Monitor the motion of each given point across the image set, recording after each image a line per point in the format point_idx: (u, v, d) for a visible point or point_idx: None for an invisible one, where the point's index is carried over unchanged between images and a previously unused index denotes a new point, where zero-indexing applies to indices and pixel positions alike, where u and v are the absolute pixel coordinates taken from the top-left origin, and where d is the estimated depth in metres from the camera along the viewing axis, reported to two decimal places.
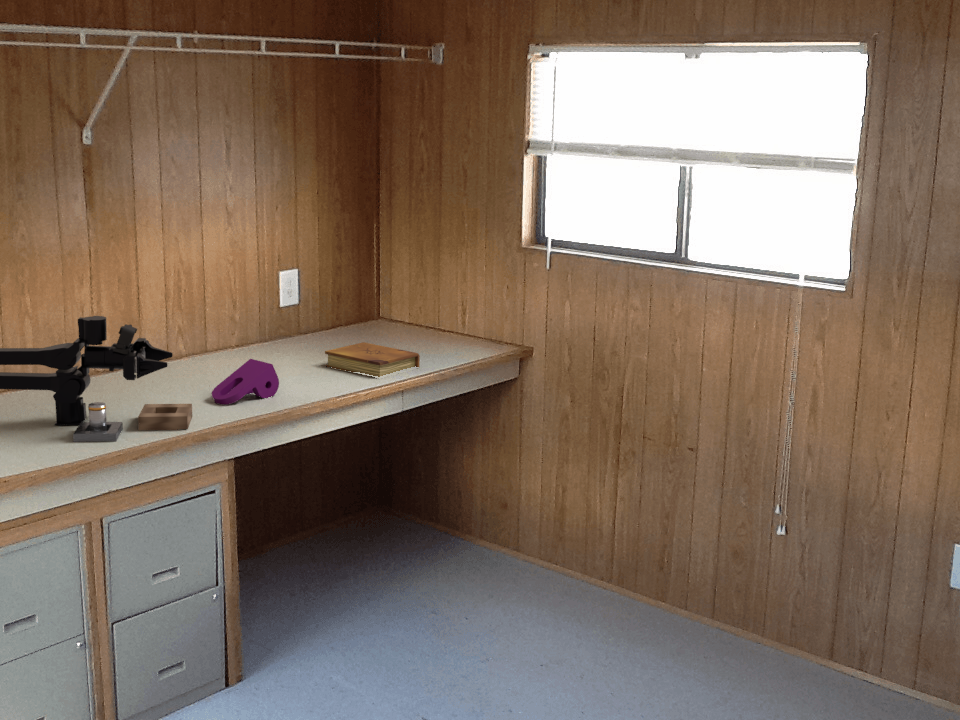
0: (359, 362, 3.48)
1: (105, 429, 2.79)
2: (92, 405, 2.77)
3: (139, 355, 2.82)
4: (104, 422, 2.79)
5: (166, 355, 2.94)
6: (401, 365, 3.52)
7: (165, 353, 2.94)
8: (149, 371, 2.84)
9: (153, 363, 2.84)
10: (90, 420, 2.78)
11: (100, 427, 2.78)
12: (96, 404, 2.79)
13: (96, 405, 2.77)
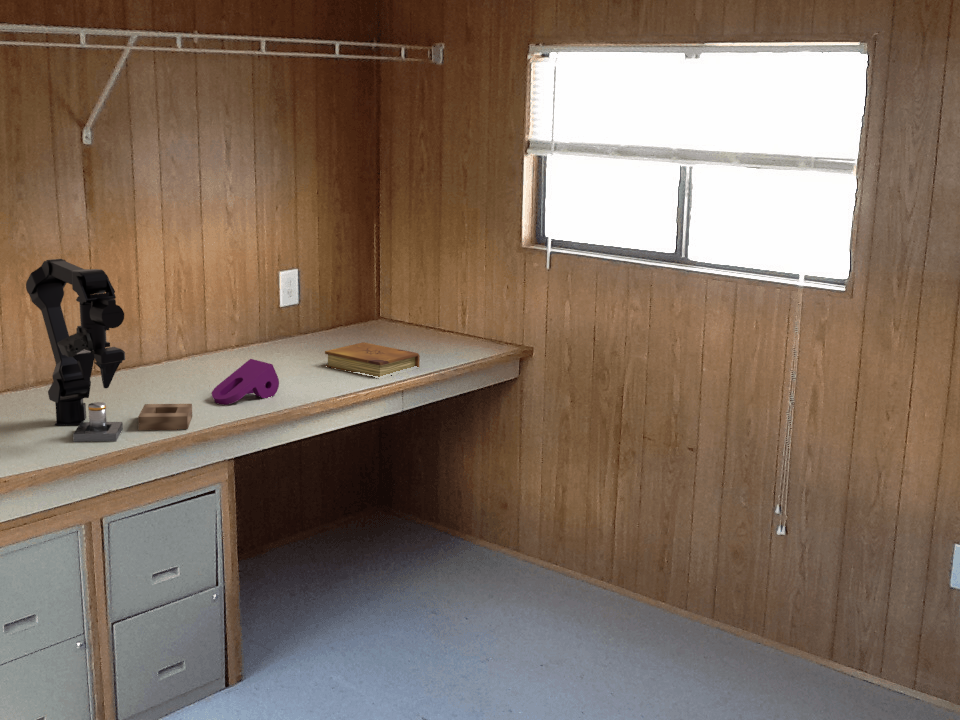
0: (359, 362, 3.48)
1: (105, 429, 2.79)
2: (92, 405, 2.77)
3: None
4: (104, 422, 2.79)
5: None
6: (401, 364, 3.52)
7: None
8: None
9: None
10: (90, 420, 2.78)
11: (100, 427, 2.78)
12: (96, 404, 2.79)
13: (96, 405, 2.77)
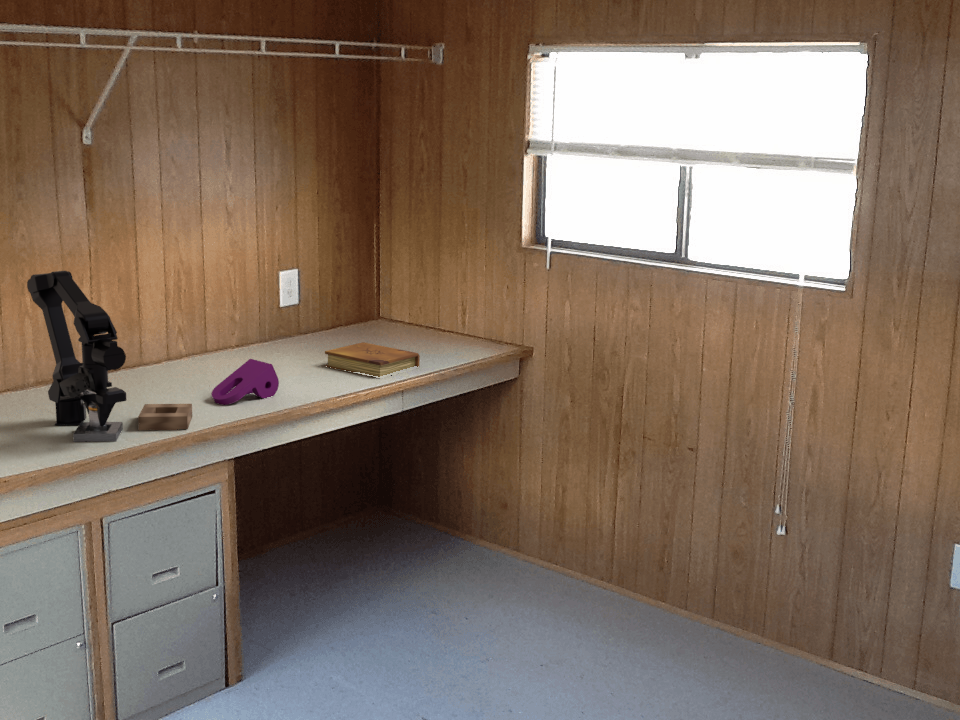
0: (359, 362, 3.48)
1: (105, 429, 2.79)
2: (92, 405, 2.77)
3: (78, 397, 2.79)
4: None
5: None
6: (401, 364, 3.52)
7: None
8: None
9: None
10: (90, 420, 2.78)
11: (100, 427, 2.78)
12: None
13: None
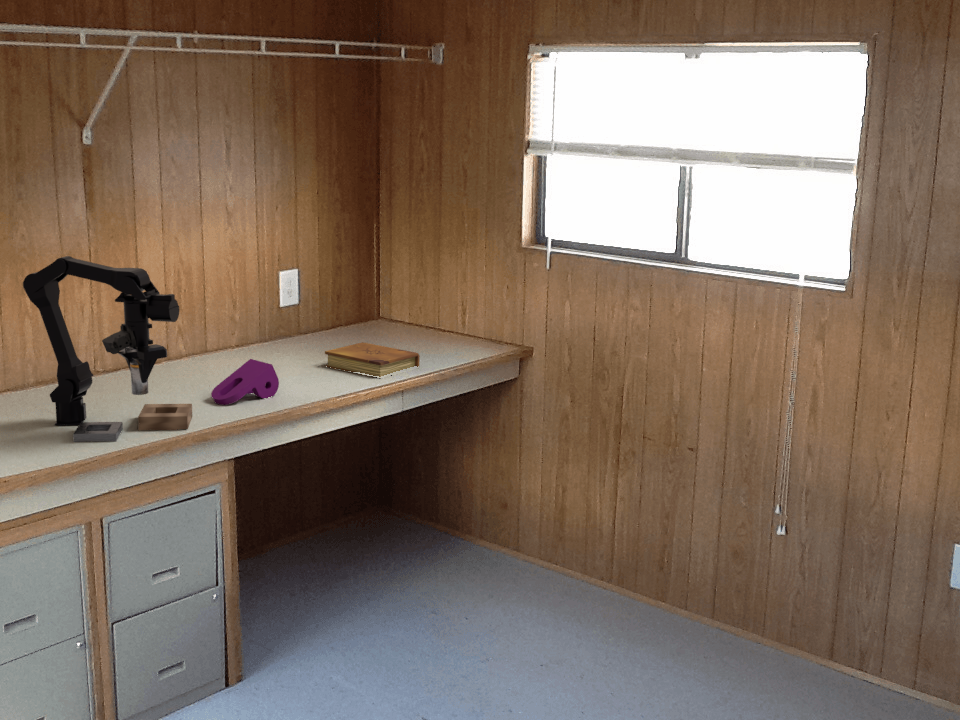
0: (359, 362, 3.48)
1: (146, 386, 2.84)
2: (134, 362, 2.82)
3: (120, 354, 2.84)
4: None
5: None
6: (401, 364, 3.52)
7: None
8: None
9: None
10: (132, 377, 2.83)
11: (141, 384, 2.83)
12: None
13: None
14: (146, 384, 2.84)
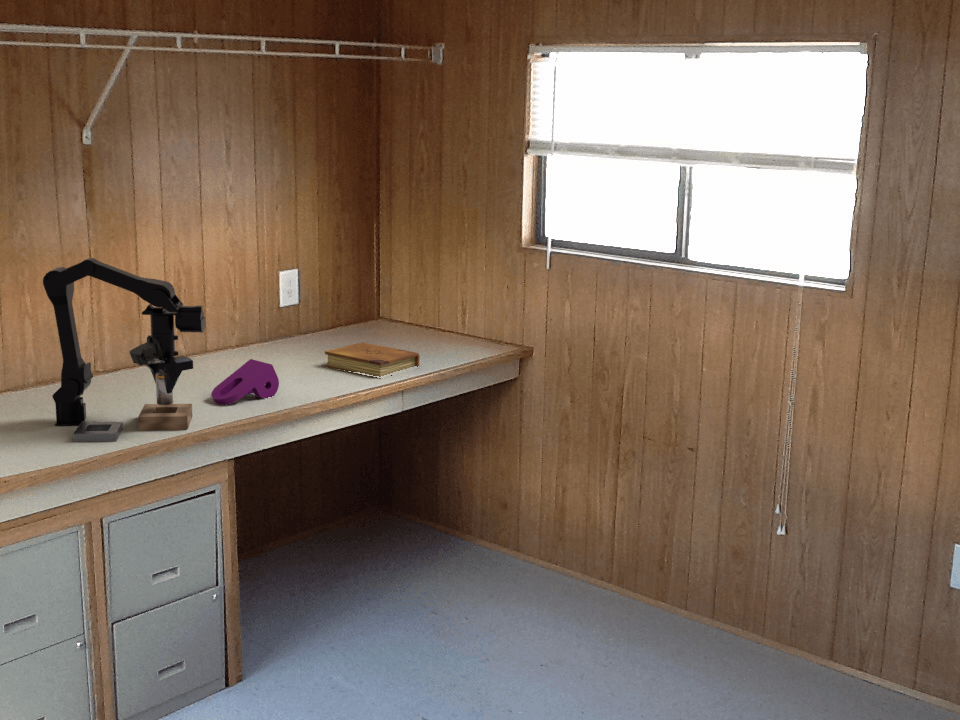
0: (359, 362, 3.48)
1: (171, 396, 2.90)
2: (159, 373, 2.88)
3: (146, 365, 2.89)
4: None
5: None
6: (401, 364, 3.52)
7: None
8: None
9: None
10: (157, 388, 2.88)
11: (166, 394, 2.89)
12: None
13: None
14: (171, 394, 2.90)
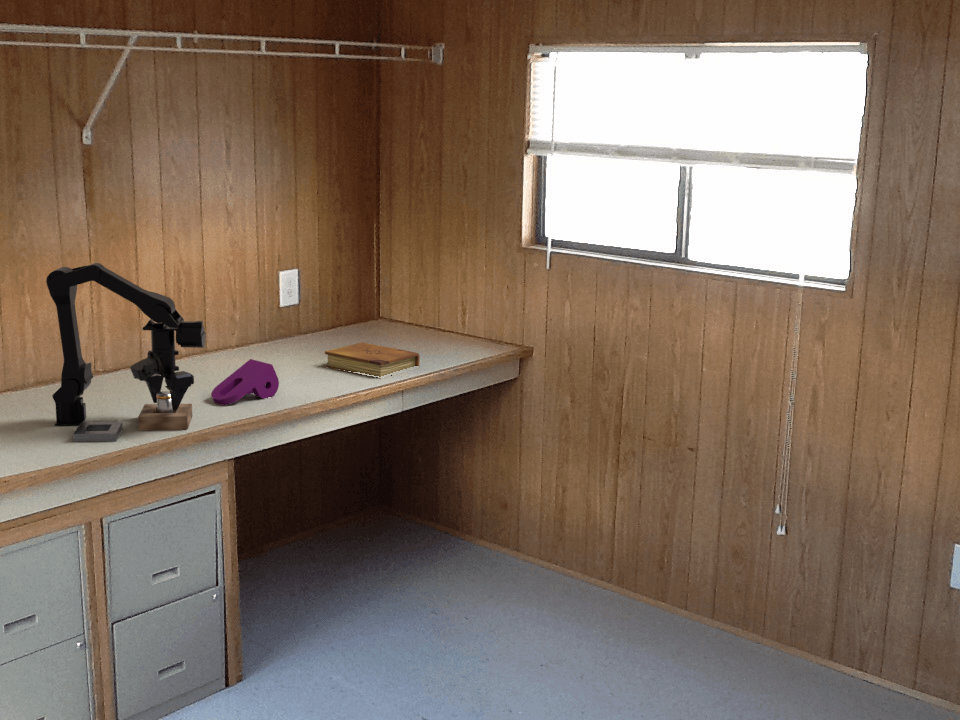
0: (360, 362, 3.48)
1: None
2: (160, 394, 2.89)
3: None
4: (171, 410, 2.91)
5: None
6: (401, 364, 3.52)
7: None
8: None
9: None
10: (158, 408, 2.90)
11: None
12: (163, 392, 2.90)
13: (164, 394, 2.89)
14: None
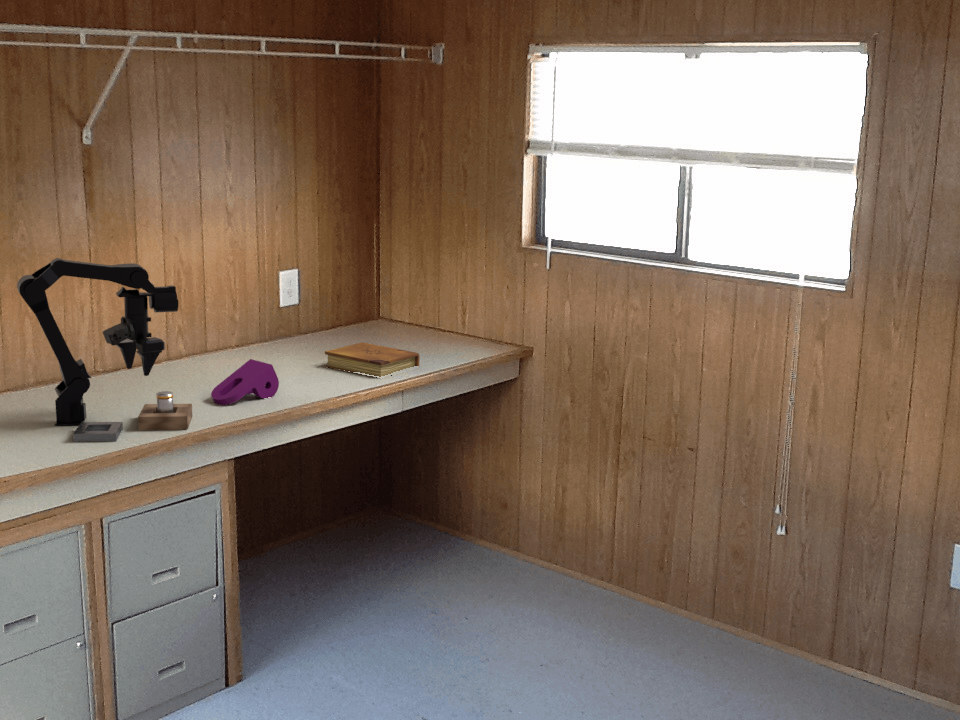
0: (360, 362, 3.48)
1: None
2: (160, 394, 2.89)
3: (115, 344, 2.97)
4: (171, 410, 2.91)
5: None
6: (401, 364, 3.52)
7: None
8: None
9: None
10: (158, 408, 2.90)
11: None
12: (163, 392, 2.90)
13: (164, 394, 2.89)
14: None
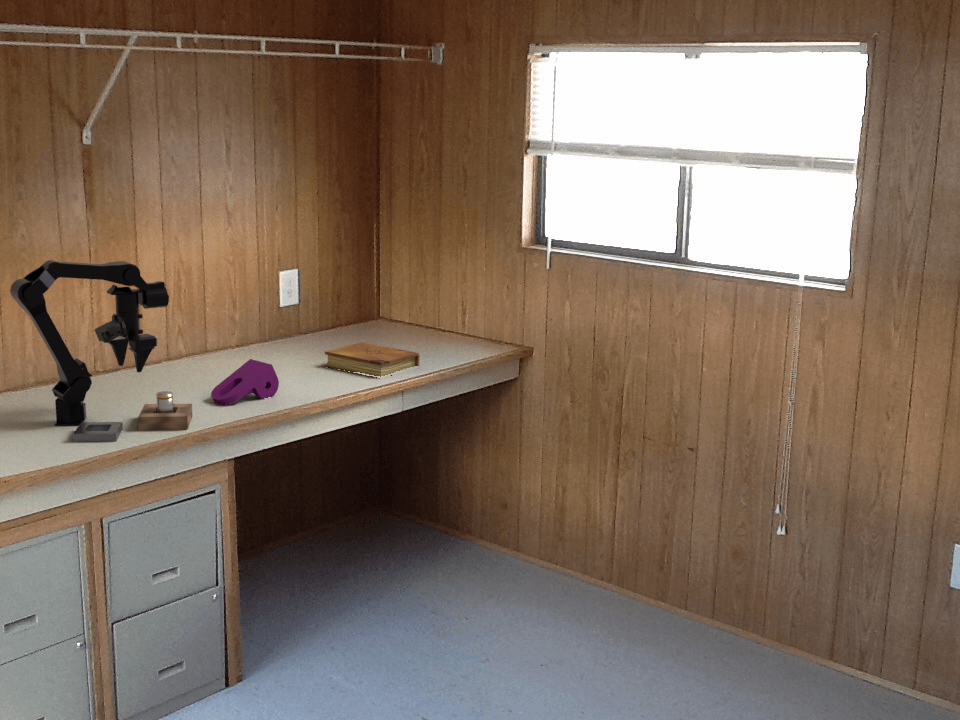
0: (360, 362, 3.48)
1: None
2: (160, 394, 2.89)
3: None
4: (171, 410, 2.91)
5: None
6: (401, 364, 3.52)
7: None
8: None
9: None
10: (158, 408, 2.90)
11: None
12: (163, 392, 2.90)
13: (164, 394, 2.89)
14: None
